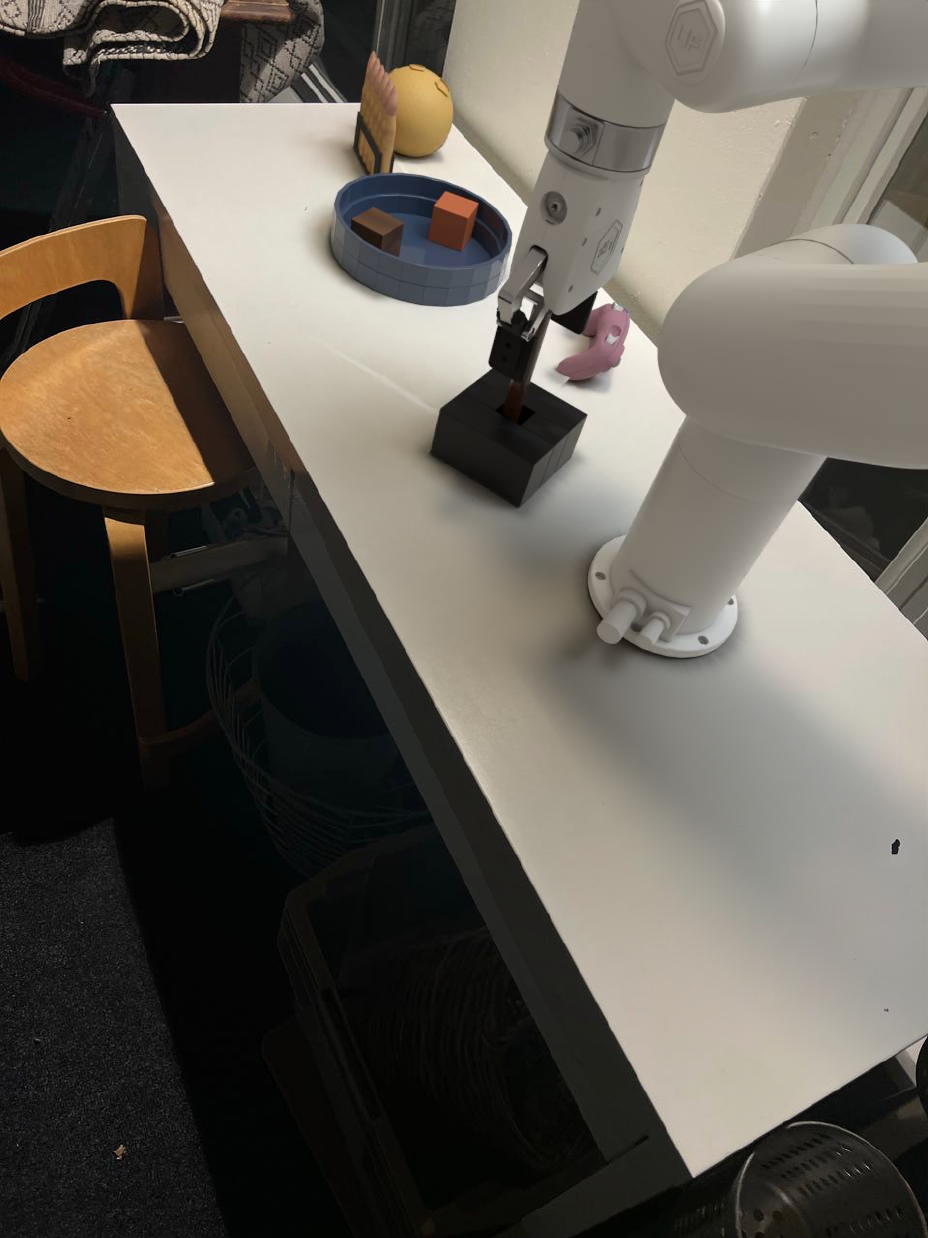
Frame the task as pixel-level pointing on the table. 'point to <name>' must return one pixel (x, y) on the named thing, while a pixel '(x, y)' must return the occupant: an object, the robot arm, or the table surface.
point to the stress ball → (420, 111)
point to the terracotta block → (452, 221)
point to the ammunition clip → (376, 120)
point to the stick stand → (506, 437)
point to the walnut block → (379, 230)
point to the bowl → (420, 242)
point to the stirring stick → (519, 390)
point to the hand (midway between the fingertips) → (537, 348)
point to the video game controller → (599, 343)
